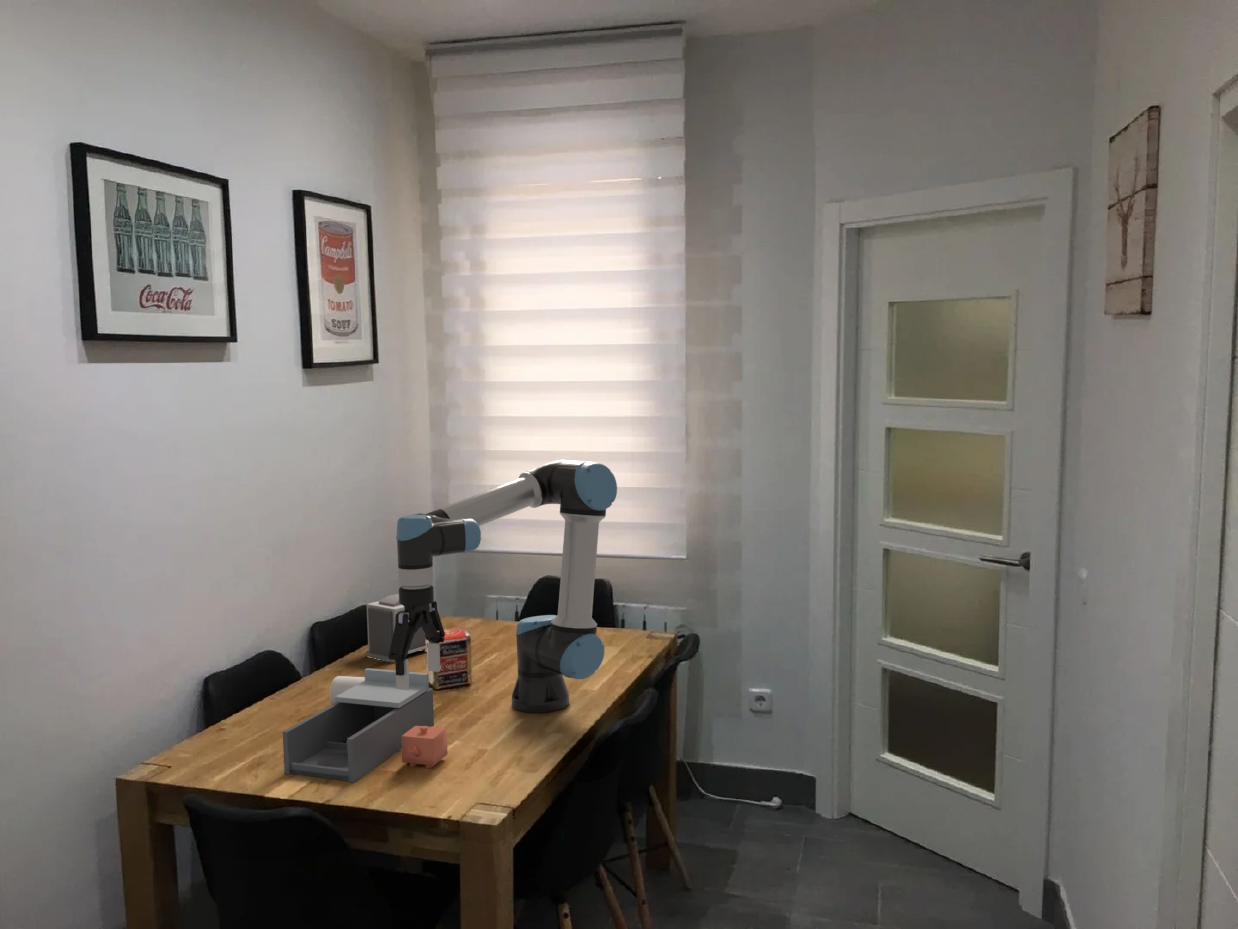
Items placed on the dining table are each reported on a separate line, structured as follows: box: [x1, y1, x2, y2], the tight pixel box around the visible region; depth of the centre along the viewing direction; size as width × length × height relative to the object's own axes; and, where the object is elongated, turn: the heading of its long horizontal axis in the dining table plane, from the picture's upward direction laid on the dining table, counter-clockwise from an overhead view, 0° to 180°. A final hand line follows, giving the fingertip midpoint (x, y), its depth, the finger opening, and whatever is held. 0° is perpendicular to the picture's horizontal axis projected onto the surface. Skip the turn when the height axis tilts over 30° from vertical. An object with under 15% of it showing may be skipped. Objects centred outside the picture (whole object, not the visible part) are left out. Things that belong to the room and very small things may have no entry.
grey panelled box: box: [365, 593, 426, 663], centre depth 304 cm, size 18×13×18 cm
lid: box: [335, 667, 430, 708], centre depth 233 cm, size 17×14×4 cm
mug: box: [328, 675, 365, 705], centre depth 256 cm, size 12×10×8 cm
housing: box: [282, 687, 435, 784], centre depth 225 cm, size 17×35×10 cm, turn 162°
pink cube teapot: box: [401, 725, 448, 769], centre depth 216 cm, size 8×12×8 cm, turn 164°
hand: (419, 680), depth 215 cm, fingers open, 13 cm apart
